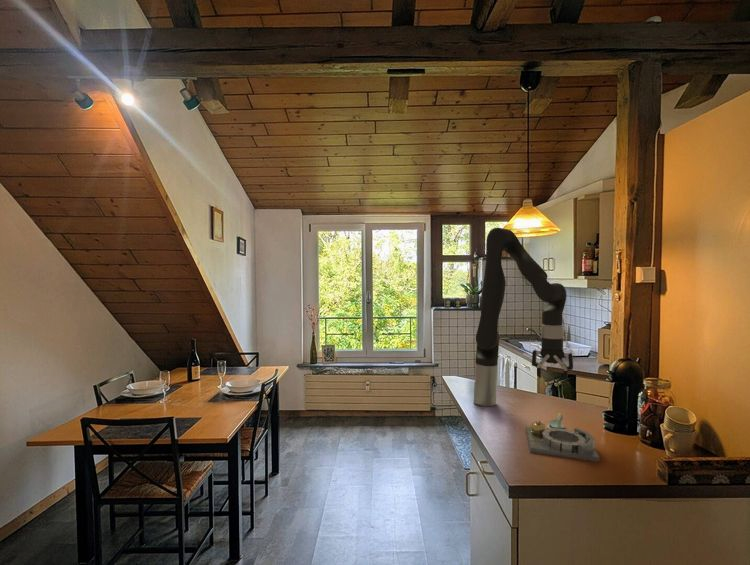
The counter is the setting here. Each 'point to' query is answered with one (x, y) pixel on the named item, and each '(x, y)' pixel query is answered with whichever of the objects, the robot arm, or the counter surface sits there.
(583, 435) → the grey ring holder
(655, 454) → the counter surface
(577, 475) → the counter surface
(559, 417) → the pacifier
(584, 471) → the counter surface
